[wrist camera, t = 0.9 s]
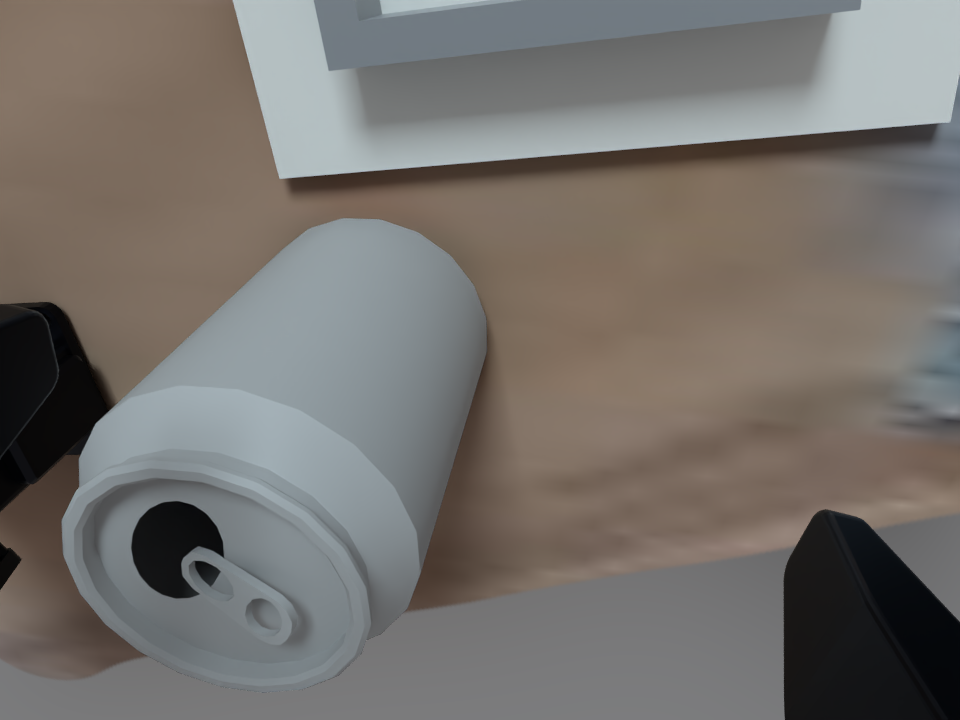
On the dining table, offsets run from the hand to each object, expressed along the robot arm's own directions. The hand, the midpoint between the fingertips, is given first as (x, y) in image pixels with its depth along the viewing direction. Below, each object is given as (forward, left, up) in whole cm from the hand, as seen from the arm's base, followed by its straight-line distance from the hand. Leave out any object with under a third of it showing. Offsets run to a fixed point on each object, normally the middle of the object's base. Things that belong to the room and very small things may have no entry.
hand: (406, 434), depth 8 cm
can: (-5, -5, -14) cm, 16 cm away
